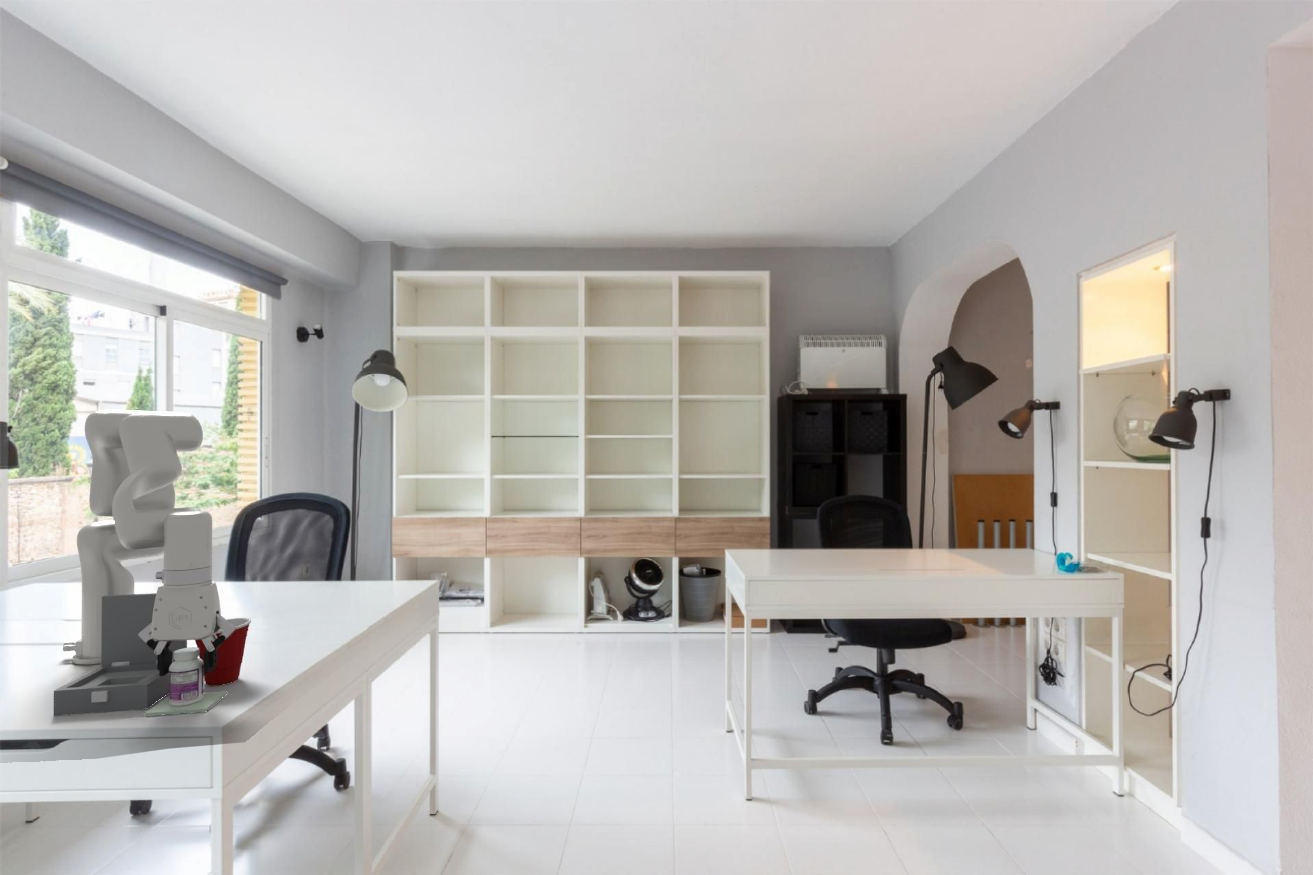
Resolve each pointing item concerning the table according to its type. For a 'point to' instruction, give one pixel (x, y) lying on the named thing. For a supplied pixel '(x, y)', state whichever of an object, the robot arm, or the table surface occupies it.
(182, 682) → the pill bottle
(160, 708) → the sage mat
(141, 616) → the equipment case
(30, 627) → the table surface
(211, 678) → the plastic cup
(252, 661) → the table surface
